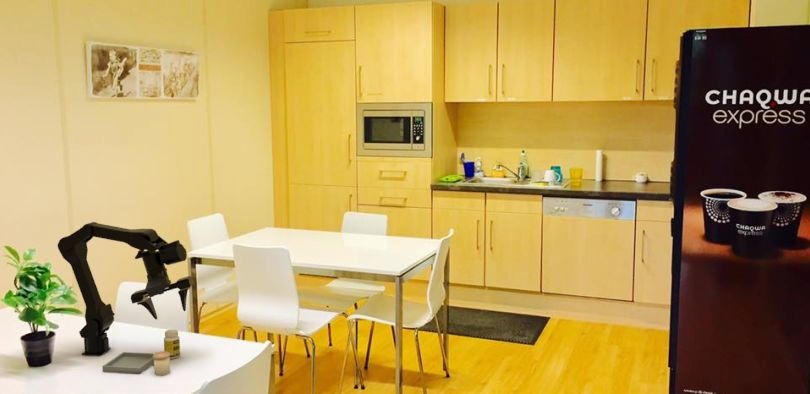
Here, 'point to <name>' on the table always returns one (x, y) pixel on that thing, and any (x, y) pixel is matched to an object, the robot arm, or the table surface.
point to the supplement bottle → (172, 343)
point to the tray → (129, 363)
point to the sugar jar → (161, 363)
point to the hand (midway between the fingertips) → (170, 315)
